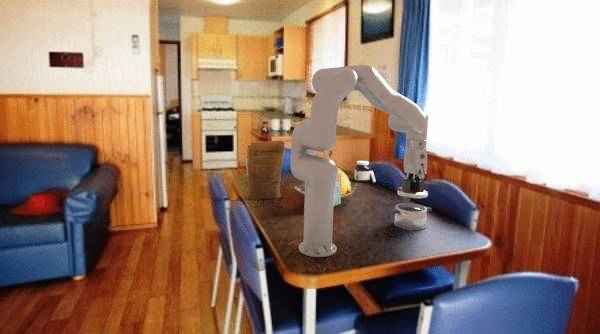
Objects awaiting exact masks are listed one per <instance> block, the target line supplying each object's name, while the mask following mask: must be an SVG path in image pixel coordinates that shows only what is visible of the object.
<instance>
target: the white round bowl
mask: <svg viewBox="0 0 600 334" xmlns="http://www.w3.org/2000/svg"><path fill="white" fill-rule="evenodd" d="M412 182H413V178H407V179H406V178H402V184H401V186H398V187H397V190H396V191H397V192H396V193H397V195H398V196H400V197H404V198H407V199H408V198H409V199H424V198H425V199H426V198H427V197H428V196H429V191H427V190H426V189H425V179H424V178H422V179H421V182H420V185H419V192H411V185H412Z"/></svg>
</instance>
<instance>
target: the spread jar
mask: <svg viewBox="0 0 600 334" xmlns="http://www.w3.org/2000/svg"><path fill="white" fill-rule="evenodd" d="M369 164H370V161H367V160H357V161H356V165H355V166H354V171H353V172H354V181H356V182H357V183H361V182H363V183H368V182H370V180H371V179H372V183H376V182H377V181H376V177H375V173H374V170H371V167H370V165H369Z"/></svg>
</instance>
